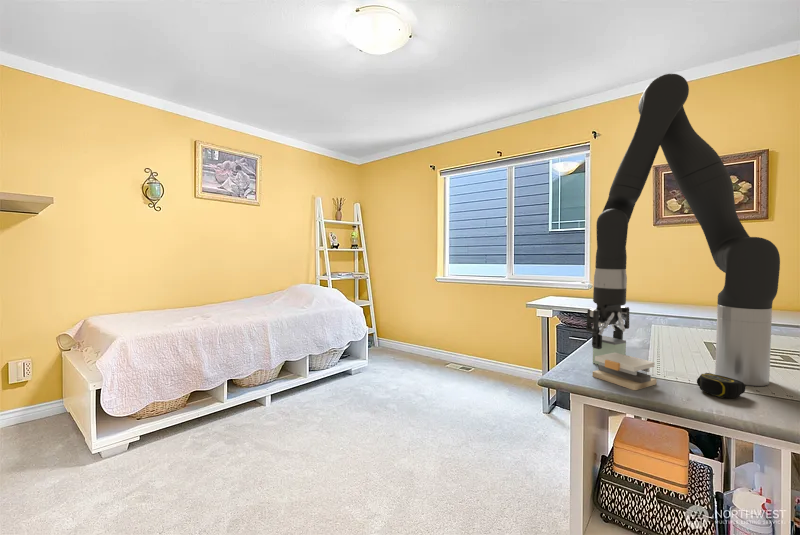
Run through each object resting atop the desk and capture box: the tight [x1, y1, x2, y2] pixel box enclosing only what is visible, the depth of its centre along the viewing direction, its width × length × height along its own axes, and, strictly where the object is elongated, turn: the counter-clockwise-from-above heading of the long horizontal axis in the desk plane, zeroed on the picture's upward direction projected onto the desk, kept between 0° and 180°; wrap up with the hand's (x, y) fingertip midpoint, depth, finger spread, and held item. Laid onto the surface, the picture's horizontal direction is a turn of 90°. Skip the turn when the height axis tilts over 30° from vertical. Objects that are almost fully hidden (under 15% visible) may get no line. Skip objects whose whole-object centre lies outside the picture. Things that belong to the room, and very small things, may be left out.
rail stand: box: [592, 365, 658, 391], centre depth 85 cm, size 8×10×2 cm
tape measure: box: [696, 372, 746, 399], centre depth 76 cm, size 7×7×4 cm
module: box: [592, 335, 627, 366], centre depth 96 cm, size 5×6×7 cm
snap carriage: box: [595, 353, 656, 375], centre depth 84 cm, size 8×9×2 cm
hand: (607, 346), depth 96 cm, fingers open, 8 cm apart
